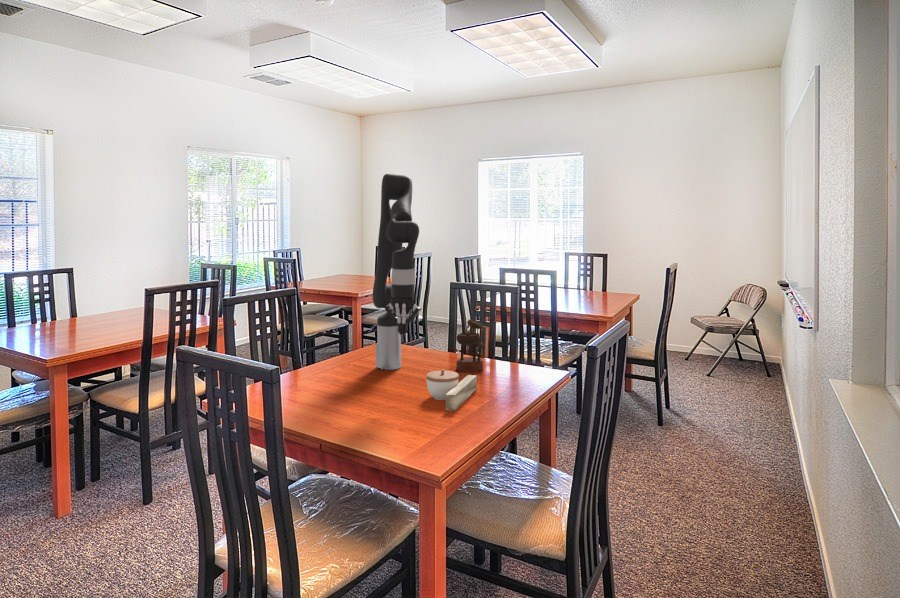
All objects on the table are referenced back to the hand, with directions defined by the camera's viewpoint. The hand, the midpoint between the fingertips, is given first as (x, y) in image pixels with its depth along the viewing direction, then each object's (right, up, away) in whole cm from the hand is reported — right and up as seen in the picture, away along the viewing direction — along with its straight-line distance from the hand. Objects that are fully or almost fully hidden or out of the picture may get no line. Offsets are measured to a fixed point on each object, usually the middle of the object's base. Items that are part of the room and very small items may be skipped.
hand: (402, 334), depth 192 cm
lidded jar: (+13, -21, -2) cm, 25 cm away
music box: (+23, -16, +35) cm, 45 cm away
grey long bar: (+20, -21, -4) cm, 29 cm away
